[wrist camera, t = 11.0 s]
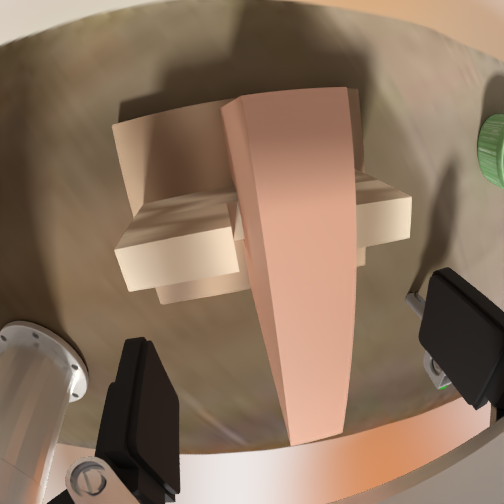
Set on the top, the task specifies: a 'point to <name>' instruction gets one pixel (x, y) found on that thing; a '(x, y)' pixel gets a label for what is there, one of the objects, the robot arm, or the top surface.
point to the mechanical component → (429, 363)
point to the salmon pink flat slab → (299, 244)
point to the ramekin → (492, 149)
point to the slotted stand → (213, 204)
